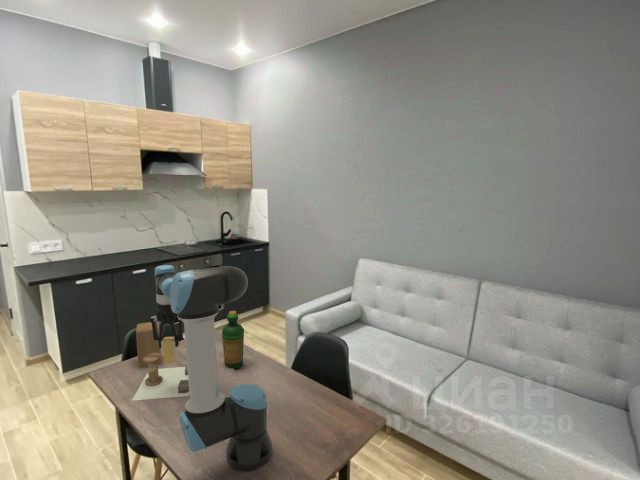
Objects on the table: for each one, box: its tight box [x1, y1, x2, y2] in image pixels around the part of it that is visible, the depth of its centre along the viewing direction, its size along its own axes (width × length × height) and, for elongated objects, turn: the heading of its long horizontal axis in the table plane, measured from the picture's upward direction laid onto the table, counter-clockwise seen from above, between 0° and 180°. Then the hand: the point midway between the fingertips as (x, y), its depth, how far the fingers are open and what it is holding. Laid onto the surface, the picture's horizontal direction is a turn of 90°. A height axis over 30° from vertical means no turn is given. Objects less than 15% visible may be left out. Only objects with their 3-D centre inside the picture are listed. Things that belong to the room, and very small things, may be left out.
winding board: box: [132, 366, 190, 402], centre depth 156 cm, size 24×22×1 cm
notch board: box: [178, 364, 189, 393], centre depth 157 cm, size 19×4×3 cm, turn 10°
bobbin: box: [144, 353, 163, 386], centre depth 155 cm, size 7×7×12 cm
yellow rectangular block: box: [162, 336, 177, 364], centre depth 150 cm, size 4×4×10 cm
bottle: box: [221, 310, 245, 370], centre depth 170 cm, size 11×11×28 cm
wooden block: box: [135, 320, 162, 369], centre depth 171 cm, size 10×10×20 cm
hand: (169, 353), depth 150 cm, fingers closed on yellow rectangular block, 4 cm apart
